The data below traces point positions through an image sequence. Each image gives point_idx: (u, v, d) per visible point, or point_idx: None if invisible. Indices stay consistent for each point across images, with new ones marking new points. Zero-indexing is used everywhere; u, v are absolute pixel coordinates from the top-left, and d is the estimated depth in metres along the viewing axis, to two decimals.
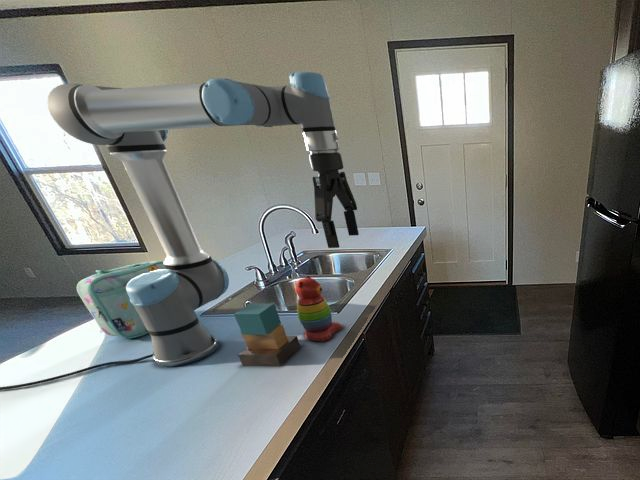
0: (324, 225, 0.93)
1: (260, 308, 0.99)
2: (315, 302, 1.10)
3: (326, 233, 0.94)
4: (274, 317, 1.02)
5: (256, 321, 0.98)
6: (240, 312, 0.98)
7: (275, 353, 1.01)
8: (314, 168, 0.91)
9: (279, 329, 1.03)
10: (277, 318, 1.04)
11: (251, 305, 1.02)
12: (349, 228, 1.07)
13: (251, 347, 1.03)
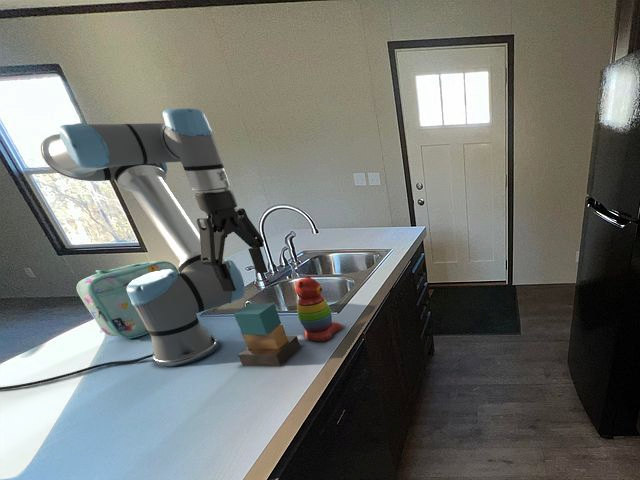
0: (214, 269, 0.86)
1: (260, 308, 0.99)
2: (315, 302, 1.10)
3: (218, 277, 0.87)
4: (274, 317, 1.02)
5: (256, 321, 0.98)
6: (240, 312, 0.98)
7: (275, 353, 1.01)
8: (201, 208, 0.84)
9: (279, 329, 1.03)
10: (277, 318, 1.04)
11: (251, 305, 1.02)
12: (256, 265, 1.01)
13: (251, 347, 1.03)
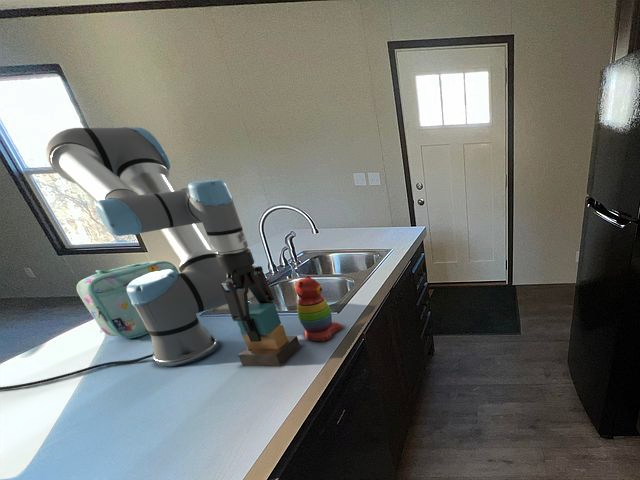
0: (243, 323, 0.96)
1: (260, 308, 0.99)
2: (315, 302, 1.10)
3: (246, 330, 0.97)
4: (274, 317, 1.02)
5: (256, 321, 0.98)
6: None
7: (275, 353, 1.01)
8: (221, 267, 0.91)
9: (279, 329, 1.03)
10: (277, 318, 1.04)
11: (251, 305, 1.02)
12: None
13: (251, 347, 1.03)
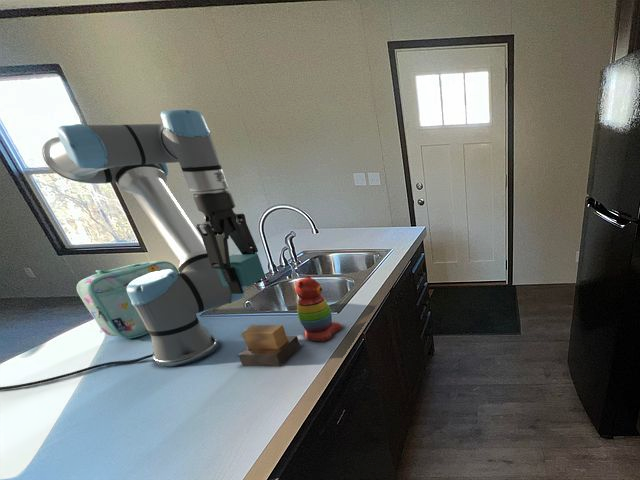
0: (223, 272, 0.90)
1: (242, 258, 0.93)
2: (315, 302, 1.10)
3: (226, 280, 0.91)
4: (258, 269, 0.96)
5: (238, 271, 0.92)
6: None
7: (275, 353, 1.01)
8: (199, 209, 0.85)
9: (279, 329, 1.03)
10: (261, 271, 0.98)
11: (233, 256, 0.96)
12: None
13: (251, 347, 1.03)
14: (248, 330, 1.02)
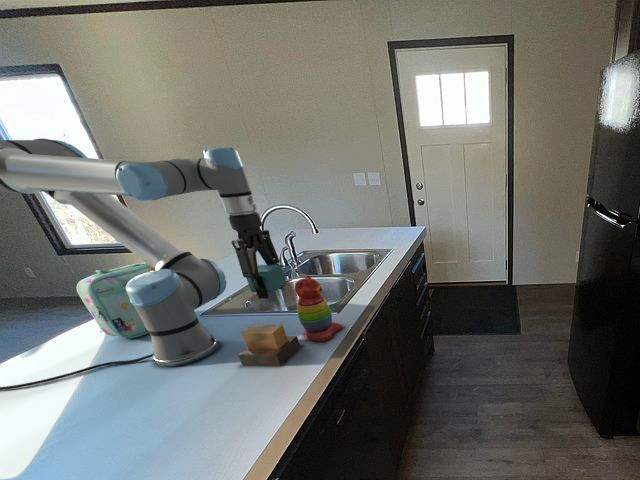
0: (252, 280, 1.06)
1: (267, 268, 1.09)
2: (315, 302, 1.10)
3: (255, 287, 1.07)
4: (280, 277, 1.12)
5: (264, 279, 1.08)
6: None
7: (275, 353, 1.01)
8: (233, 228, 1.01)
9: (279, 329, 1.03)
10: (283, 278, 1.14)
11: (259, 266, 1.12)
12: None
13: (251, 347, 1.03)
14: (248, 330, 1.02)
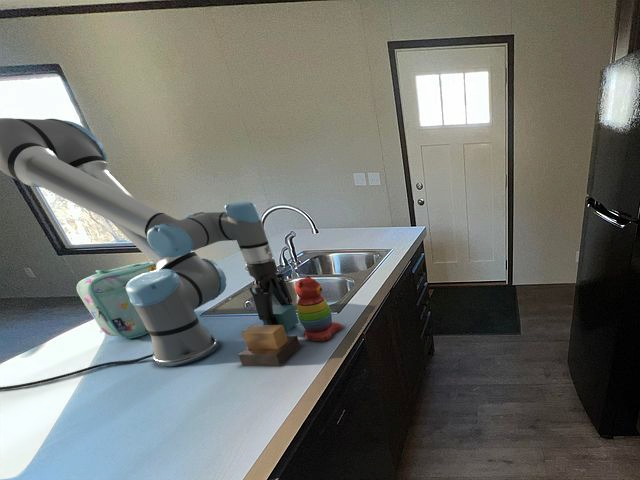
0: (268, 322, 1.13)
1: (281, 309, 1.16)
2: (315, 302, 1.10)
3: None
4: (293, 317, 1.19)
5: (279, 320, 1.14)
6: None
7: (275, 353, 1.01)
8: (250, 275, 1.08)
9: (279, 329, 1.03)
10: (296, 318, 1.20)
11: (274, 306, 1.18)
12: None
13: (251, 347, 1.03)
14: (248, 330, 1.02)
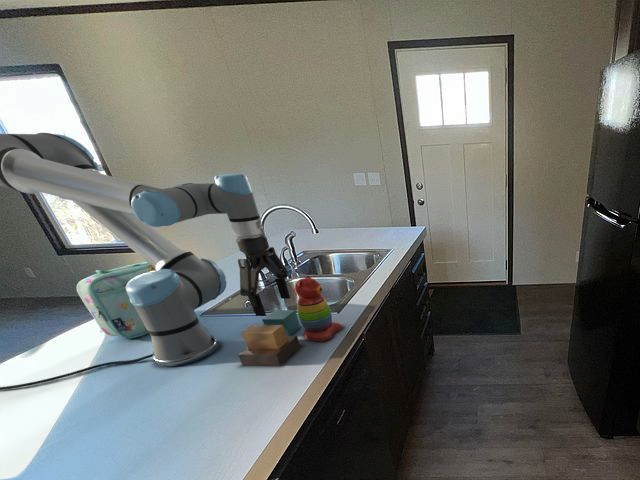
0: (250, 299, 1.06)
1: (283, 314, 1.17)
2: (315, 302, 1.10)
3: (252, 305, 1.07)
4: (295, 322, 1.20)
5: None
6: (267, 318, 1.15)
7: (275, 353, 1.01)
8: (241, 250, 1.04)
9: (279, 329, 1.03)
10: (297, 322, 1.21)
11: (275, 311, 1.19)
12: (281, 292, 1.20)
13: (251, 347, 1.03)
14: (248, 330, 1.02)
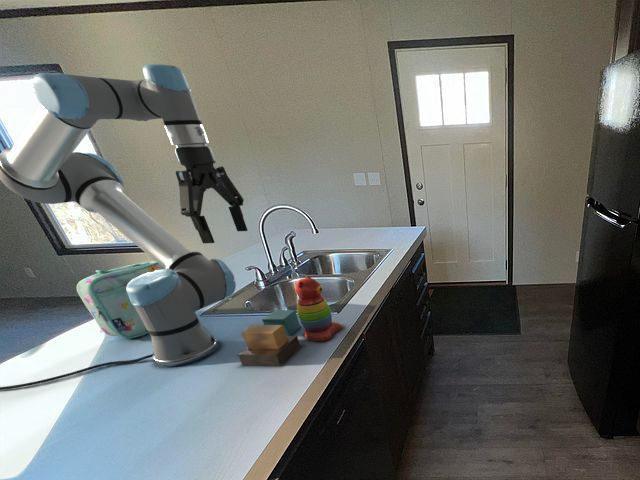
0: (193, 220, 0.92)
1: (283, 314, 1.17)
2: (315, 302, 1.10)
3: (197, 228, 0.93)
4: (295, 322, 1.20)
5: None
6: (267, 318, 1.15)
7: (275, 353, 1.01)
8: (180, 162, 0.90)
9: (279, 329, 1.03)
10: (297, 322, 1.21)
11: (275, 311, 1.19)
12: (236, 224, 1.06)
13: (251, 347, 1.03)
14: (248, 330, 1.02)
